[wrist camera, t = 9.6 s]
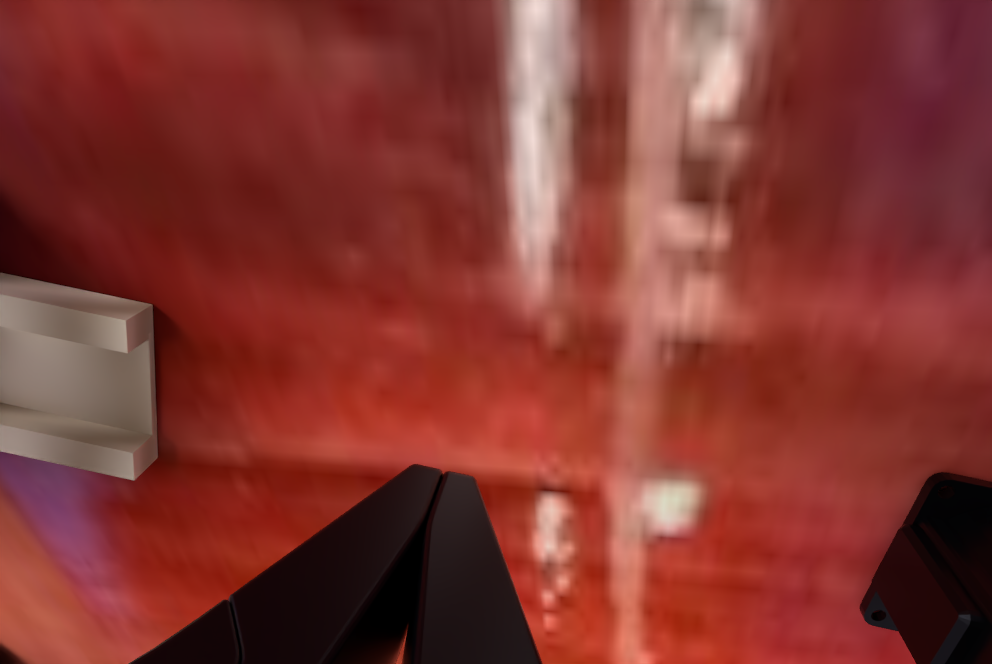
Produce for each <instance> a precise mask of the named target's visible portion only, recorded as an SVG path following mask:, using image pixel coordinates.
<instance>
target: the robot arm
mask: <svg viewBox="0 0 992 664" xmlns="http://www.w3.org/2000/svg"><path fill="white" fill-rule="evenodd" d="M944 486H948V488H947V489H946V490H944V491H939V490H940V489H941V488H942V487H944ZM877 610H880V611H878V612H874V611H877ZM860 611H861V614H862V616H863V618H864V620H865V621H866V622H867V623H868V624H870V625H873V626H877V627H881V628H886V629H890V630H895V631H899V633H900V635H901V636H902V638H903V640H904V642H905V644H906V645H907V647H908V649H909V651H910V653H911V655H912V656H913V658H914V660H915V662H916V664H992V482H989V481H984V480H979V479H975V478H970V477H965V476H960V475H956V474H951V473H942V472H941V473H937V474H934V475H932V476H931V477H929V478H928V479H927V481H926V482H925V484H924V485H923V487H922V489H921V491H920V493H919V495H918V497H917V499H916V501H915V502H914V504H913V506H912V508H911V510H910V512H909V514H908V516H907V518H906V519H905V521H904V523H903V525H902V527H901V528H900V529H899V530H898V532H897V533H896V535H895V537H894V539H893V541H892V543H891V545H890V547H889V549H888V550H887V552H886V554H885V556H884V558H883V560H882V562H881V564H880V566H879V567H878V569H877V571H876V573H875V575H874V577H873V579H872V583H871V585H870V587H869V589H868V591H867V593H866V595H865V597H864V599H863V600H862V602H861V604H860ZM407 629H408V630H407ZM406 632H407V636H406ZM405 636H406V642H405V648H404V654H403V660H402V664H542V661H541V658H540V655H539V653H538V650H537V647H536V644H535V641H534V639H533V636H532V633H531V630H530V628H529V625H528V622H527V619H526V617H525V614H524V611H523V608H522V606H521V603H520V600H519V597H518V595H517V592H516V589H515V586H514V584H513V581H512V578H511V575H510V572H509V570H508V567H507V564H506V561H505V559H504V556H503V553H502V550H501V548H500V545H499V542H498V539H497V537H496V534H495V531H494V528H493V526H492V523H491V520H490V517H489V515H488V512H487V509H486V506H485V504H484V501H483V498H482V495H481V492H480V490H479V487H478V484H477V482H476V479H475V478H474V477H473V476H469V475H465V474H460V473H455V472H451V471H448V472H445V473H444V474H443V473H442V471H441V470H440V469H437V468H432V467H427V466H423V465H418V464H414V465H411V466H409V467H408V468H407V469H405V470H404V471H402V472H401V473H400V474H398V475H397V476H395V477H394V478H393V479H391V480H390V481H389V482H387V483H386V484H384V485H383V486H382V487H380V488H379V489H377V490H376V491H375V492H373V493H372V494H370V495H369V496H368V497H366V498H365V499H364V500H362V501H361V502H359V503H358V504H357V505H355V506H354V507H352V508H351V509H350V510H348V511H347V512H345V513H344V514H343V515H341V516H340V517H339V518H337V519H336V520H334V521H333V522H332V523H330V524H329V525H327V526H326V527H325V528H323V529H322V530H320V531H319V532H318V533H316V534H315V535H313V536H312V537H311V538H309V539H308V540H307V541H305V542H304V543H302V544H301V545H300V546H298V547H297V548H295V549H294V550H293V551H291V552H290V553H288V554H287V555H286V556H284V557H283V558H282V559H280V560H279V561H277V562H276V563H275V564H273V565H272V566H270V567H269V568H268V569H266V570H265V571H263V572H262V573H261V574H259V575H258V576H257V577H255V578H254V579H252V580H251V581H250V582H248V583H247V584H245V585H244V586H243V587H241V588H240V589H238V590H237V591H236V592H234V593H233V594H231V595H230V597H229V601H228V600H223V601H221V602H220V603H219V604H217V605H216V606H214V607H213V608H212V609H210V610H209V611H207V612H206V613H205V614H203V615H202V616H200V617H199V618H198V619H196V620H195V621H193V622H192V623H190V624H189V625H187V626H186V627H184V628H183V629H181V630H180V631H179V632H177V633H176V634H174V635H173V636H171V637H170V638H168V639H167V640H165V641H164V642H162V643H161V644H159V645H158V646H156V647H155V648H153V649H152V650H150V651H149V652H147V653H145V654H144V655H142V656H140V657H139V658H137V659H135V660H134V661H132V662H131V663H129V664H396V661H397V659H398V656H399V653H400V651H401V648H402V645H403V642H404V639H405Z"/></svg>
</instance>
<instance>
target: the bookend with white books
mask: <svg viewBox="0 0 992 664" xmlns="http://www.w3.org/2000/svg"><path fill="white" fill-rule="evenodd" d="M0 451H1V452H6V453H11V454H15V455H20V456H24V457H29V458H33V459H38V460H42V461H47V462H52V463H56V464H61V465H65V466H70V467H74V468H79V469H84V470H88V471H93V472H97V473H102V474H106V475H111V476H115V477H120V478H125V479H129V480H135V479H136V478H137V477H139V476H140V475H141V474H142V473H143V472H144V471H145V470H146V469H147V468H148V467H149V466H150V465H151V464H152V463H153V462H154V461H155V460H156V459H157V458H158V444H157V415H156V386H155V358H154V329H153V304H148V303H143V302H138V301H134V300H129V299H124V298H119V297H115V296H110V295H105V294H100V293H96V292H91V291H86V290H81V289H77V288H72V287H67V286H62V285H57V284H53V283H48V282H43V281H38V280H34V279H29V278H24V277H19V276H15V275H10V274H5V273H0Z"/></svg>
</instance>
